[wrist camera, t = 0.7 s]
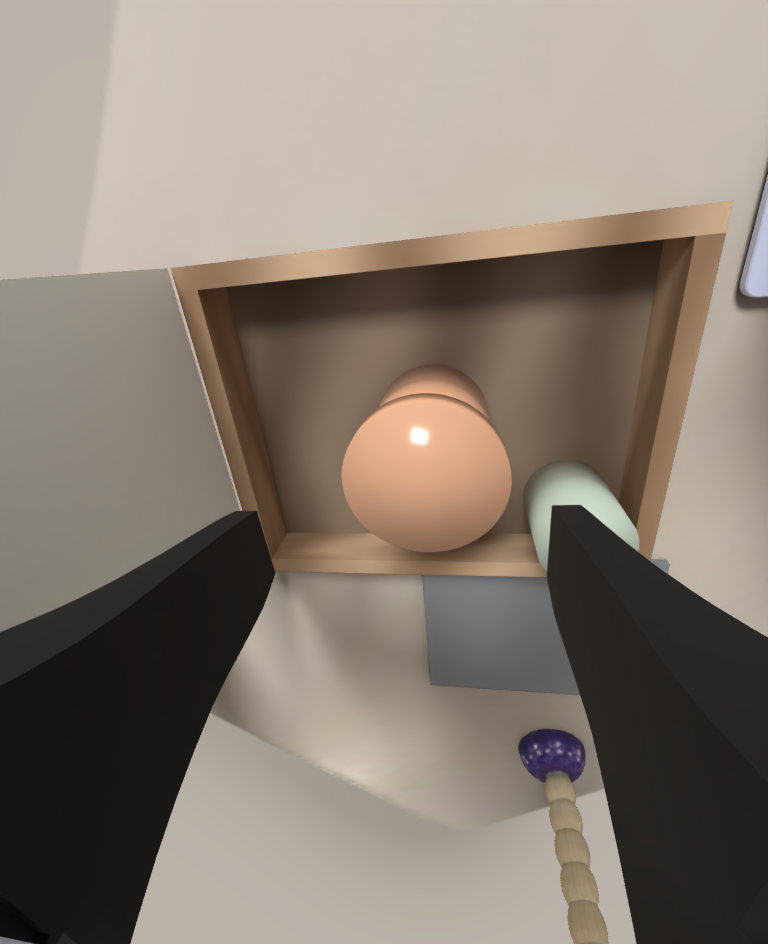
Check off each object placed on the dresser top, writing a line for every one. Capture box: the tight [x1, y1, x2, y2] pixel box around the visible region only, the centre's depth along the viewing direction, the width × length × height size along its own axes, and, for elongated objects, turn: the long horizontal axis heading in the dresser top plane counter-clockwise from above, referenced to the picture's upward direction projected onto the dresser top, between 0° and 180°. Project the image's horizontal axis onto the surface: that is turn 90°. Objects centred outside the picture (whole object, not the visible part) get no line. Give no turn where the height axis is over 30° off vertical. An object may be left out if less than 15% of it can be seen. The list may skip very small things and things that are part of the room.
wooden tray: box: [171, 201, 733, 577], centre depth 18 cm, size 18×14×3 cm
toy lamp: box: [519, 730, 608, 944], centre depth 21 cm, size 5×5×17 cm
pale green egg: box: [523, 460, 639, 571], centre depth 18 cm, size 4×4×4 cm
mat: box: [422, 560, 670, 695], centre depth 24 cm, size 12×10×1 cm
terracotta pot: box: [342, 365, 512, 552], centre depth 16 cm, size 5×5×6 cm
